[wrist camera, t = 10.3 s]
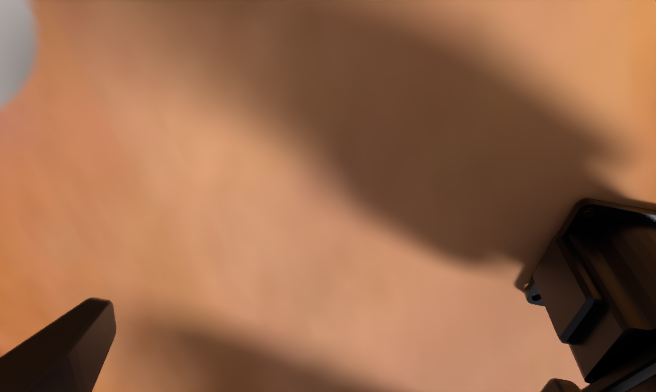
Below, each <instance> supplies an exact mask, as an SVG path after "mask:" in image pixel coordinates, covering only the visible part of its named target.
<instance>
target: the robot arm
mask: <svg viewBox="0 0 656 392" xmlns="http://www.w3.org/2000/svg"><path fill="white" fill-rule="evenodd" d="M588 208H591V209H590V210H589V211H588V212H584V211H585V210H586V209H588ZM524 294H525V297H526V299H527V301H528V302H529V303H531V304H535V305H540V306H545V307H546V310H547V312H548V314H549V317H550V319H551V321H552V324H553V326H554V329H555V331H556V333H557V336H558V338H559V339H560V341H561V342H562V343H566V344H569V346H570V349H571V351H572V353H573V355H574V358H575V360H576V362H577V365H578V367H579V369H580V371H581V374H582V376H583V378H584V380H585V382H587V383H590V384H589V385H588V386H586V387H584V388H583V389H581V390H580V389H579V387H578V386H577V385H576V384H574V383H573V382H571V381H568V380H562V379H556V378H553V379H550V380H549V381H548V382H547V384H546V385H545V386H544V388H543V389H542V390H541V392H656V211H652V210H647V209H641V208H636V207H631V206H625V205H620V204H615V203H610V202H604V201H599V200H594V199H584V200H581V201H579V202H578V203H577V204H576V205H575V206H574V208H573V209H572V211H571V213H570V215H569V216H568V218H567V220H566V221H565V223H564V225H563V226H562V228H561V230H560V232H559V233H558V235H557V237H556V238H554V239H553V241H552V242H551V244H550V246H549V247H548V249H547V251H546V252H545V254H544V256H543V258H542V259H541V261H540V263H539V264H538V266H537V268H536V270H535V271H534V273H533V277H532V279H531V281H530V283H529V284H528V286H527V288H526V289H525V292H524ZM535 294H537V295H535ZM115 333H116V322H115V315H114V308H113V303H112V302H111V301H110V300H106V299H100V298H89V299H87V300H85V301H83V302H82V303H80V304H79V305H77V306H76V307H74V308H73V309H72V310H70V311H69V312H67V313H66V314H64V315H63V316H61V317H60V318H58V319H57V320H55V321H54V322H52V323H51V324H49V325H48V326H46V327H45V328H43V329H42V330H40V331H39V332H37V333H36V334H34V335H33V336H31V337H30V338H28V339H27V340H25V341H24V342H22V343H21V344H19V345H18V346H16V347H15V348H13V349H12V350H11V351H9V352H8V353H6V354H5V355H3V356H2V357H0V392H92V390H93V388H94V385H95V383H96V381H97V378H98V376H99V373H100V371H101V369H102V366H103V364H104V361H105V359H106V357H107V354H108V352H109V349H110V347H111V345H112V342H113V340H114V337H115Z"/></svg>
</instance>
